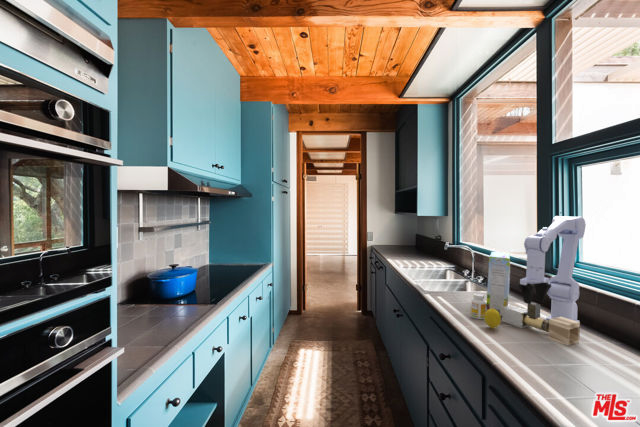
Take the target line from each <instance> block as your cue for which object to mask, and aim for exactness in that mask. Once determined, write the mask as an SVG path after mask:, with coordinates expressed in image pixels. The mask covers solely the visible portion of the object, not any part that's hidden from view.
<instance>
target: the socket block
mask: <svg viewBox="0 0 640 427" xmlns="http://www.w3.org/2000/svg"><path fill="white" fill-rule="evenodd" d="M548 321H549V332H548V339H549V340H551V341H554V342H558V343H560V344H563V345H566V346H570V345H574V344H578V343H580V330H581V322H577V321H574V320H570V319H567V318H564V317H557V318H552V319H548Z"/></svg>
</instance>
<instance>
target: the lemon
mask: <svg viewBox="0 0 640 427" xmlns="http://www.w3.org/2000/svg"><path fill="white" fill-rule="evenodd" d="M501 319H502V316H500V314H499V312H498V311H497V310H495V309H494V308H492V309H489V310H487V311H486V310H485V316H484V319H483V320H484V323H485V324H486V325H487V326H488V327H489V328H490V329H495V328H497V327H499V326H500V325H501V323H502V322H501V321H502V320H501Z"/></svg>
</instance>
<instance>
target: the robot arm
mask: <svg viewBox="0 0 640 427" xmlns="http://www.w3.org/2000/svg"><path fill="white" fill-rule="evenodd" d="M585 220H586V219H585V218H584V217H583V216H566V215H565V216H563V215H561V216H559V215H555V216H554V217H553V218H552V220H551V224H550V225H549V226H548V227H547V226H545V227H544V226H543V227H542V229H539V231H537V233H535V234H534V235H529V236H527V237H526V238H525V240H524V243H523V245H524V249H525V255H526V272H525V273H526V274H525V277H523V278H520V279H519V282H518V284H517V285H518V287H519V289H520V292H521V294H522V298H523V302H524V303H525V304H527V305H528V304H531V302H533V296H534V292H535V294H536V301H537V302H539V303H544V301H545V299H546V296H547V295H548V297H549V299H551V303H550V304H551V306H550V307H551V308H550V309H551V310H550V316H547V317H545V320H549V319H552V318H557V317H564V318H567V319H570V320H574V321H577V322H580V320H578V305H577V303H576V301H577V300H579V297H580V284H579V283H578V281H577V280H575V279H574V278H573V273H574V269H575V262H576V257H577V250H578V245H579V240H580V239H583V238H584V235H585V230H586V225H587V224H586V221H585ZM557 237H561V238H562V239H563V242H562V247H561V252H560V258H559V263H558V267H557V268H558V269H557V273H556V275H554V276H551V277H546V276H545V269H546V268H545V267H546V265H545V264H546V253H547V252H548V250H549V248H550V246H551V244H552V242H554V241H555V240H556V239H557ZM580 323H581V322H580Z"/></svg>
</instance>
